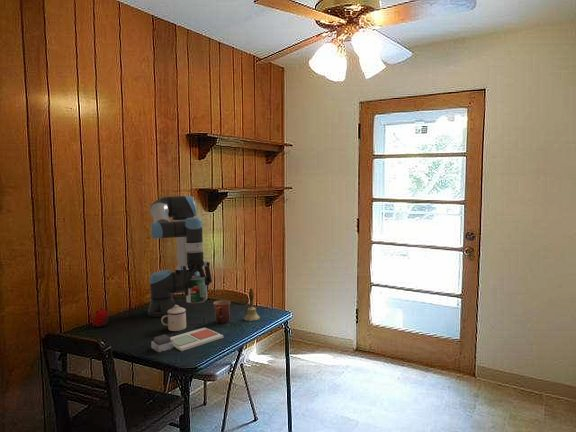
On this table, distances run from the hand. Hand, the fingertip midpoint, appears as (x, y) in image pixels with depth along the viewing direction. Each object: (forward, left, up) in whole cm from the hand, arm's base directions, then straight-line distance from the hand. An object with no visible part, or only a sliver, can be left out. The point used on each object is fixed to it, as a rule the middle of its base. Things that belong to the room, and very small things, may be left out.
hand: (196, 300), depth 191 cm
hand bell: (-3, +34, -18) cm, 38 cm away
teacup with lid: (-19, -2, -18) cm, 26 cm away
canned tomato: (0, 0, -1) cm, 1 cm away
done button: (0, -18, -16) cm, 24 cm away
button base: (0, -18, -17) cm, 25 cm away
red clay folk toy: (-51, -26, -18) cm, 60 cm away
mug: (-9, +19, -18) cm, 27 cm away
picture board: (+1, -3, -17) cm, 18 cm away
